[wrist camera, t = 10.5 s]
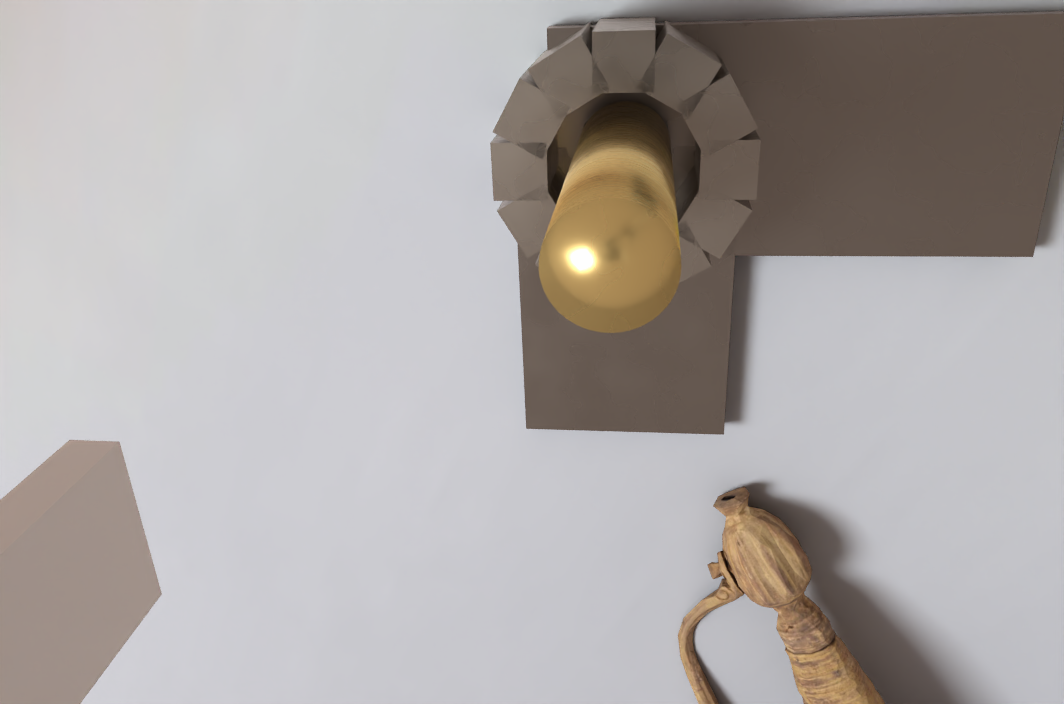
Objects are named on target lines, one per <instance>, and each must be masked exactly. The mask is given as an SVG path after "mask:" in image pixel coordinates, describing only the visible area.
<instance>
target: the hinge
mask: <svg viewBox="0 0 1064 704" xmlns="http://www.w3.org/2000/svg"><path fill="white" fill-rule="evenodd" d="M547 48H548V50H546V51H544V52H543V53H542V54H541V55H540V57H539V58H538V59H537V60H536V61H535V62H534V63H533V64H532V65H531V66H530V67H529V68H528V70H527V71H526V72H525V73H524V74H523V75H522V76H521V77H520V79H519V81H518V83H517V85H516V87H515V89H514V91H513V93H512V95H511V97H510V99H509V101H508V103H507V105H506V107H505V109H504V111H503V113H502V115H501V117H500V119H499V120H498V122H497V124H496V126H495V128H494V130H493V132H494V133H495V134H497V135H496V137H495V138H494V139H493V140H492V142H491V143H490V144H491V161H492V179H493V196H494V201H503V202H502V203H501V205H500V207H499V209H498V210H497V212H498V213H499V215H500V216H501V218H502V219H503V221H504V222H505V224H506V226H507V227H508V229H509V230H510V232H511V233H512V235H513V236H514V238H515V240H516V241H517V243H518V259H519V281H520V302H521V324H522V345H523V366H524V388H525V409H526V429H557V430H591V431H624V432H658V433H692V434H724V422H725V406H726V391H727V375H728V359H729V343H730V327H731V312H732V296H733V280H734V264H735V256H977V257H1033V254H1034V249H1035V245H1036V240H1037V235H1038V231H1039V226H1040V222H1041V217H1042V212H1043V208H1044V203H1045V198H1046V194H1047V189H1048V184H1049V180H1050V175H1051V170H1052V166H1053V161H1054V156H1055V152H1056V147H1057V142H1058V138H1059V133H1060V128H1061V124H1062V119H1063V115H1064V11H1041V12H1007V13H972V14H938V15H904V16H870V17H836V18H802V19H768V20H734V21H700V22H668V21H666V20H665V21H664V23H655V17H646V18H613V19H600V20H599V21H598V23H597V24H596V25H591V23H590V22H589V23H588V24H586V25H563V26H549V27H548V28H547ZM620 101H632V102H637V103H640V104H643V105H645V106H647V107H649V108H651V109H652V110H654V111H655V112H656V113H657V114H658V115H659V116H660V117H661V119H662V120H663V122H664V123H665V125H666V127H667V129H668V132H669V135H670V141H671V152H672V164H673V175H674V186H675V197H676V208H677V219H678V231H679V242H680V253H681V277H680V281H679V285H678V288H677V290H676V293H675V295H674V297H673V298H672V300H671V302H670V303H669V304H668V306H667V307H666V308H665V309H664V310H663V311H662V312H661V313H660V314H659V315H658V316H657V317H656V318H654V319H653V320H652V321H650V322H648V323H647V324H645V325H643V326H641V327H638V328H636V329H633V330H629V331H625V332H619V333H603V332H596V331H591V330H588V329H585V328H582V327H580V326H578V325H576V324H574V323H572V322H571V321H569V320H568V319H566V318H565V317H564V316H563V315H561V314H560V313H559V312H558V311H557V310H556V309H555V308H554V306H553V305H552V304H551V302H550V301H549V299H548V298H547V296H546V294H545V292H544V289H543V287H542V284H541V280H540V276H539V255H540V250H541V246H542V243H543V240H544V237H545V235H546V232H547V229H548V226H549V223H550V221H551V218H552V215H553V212H554V209H555V207H556V204H557V201H558V198H559V195H560V193H561V190H562V187H563V184H564V181H565V178H566V176H567V173H568V170H569V167H570V164H571V162H572V159H573V156H574V153H575V150H576V148H577V145H578V142H579V139H580V136H581V134H582V131H583V129H584V126H585V125H586V123H587V121H588V120H589V119H590V118H591V116H592V115H593V114H594V113H595V112H597V111H598V110H599V109H601V108H602V107H604V106H606V105H609V104H611V103H615V102H620Z"/></svg>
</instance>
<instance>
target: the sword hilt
mask: <svg viewBox="0 0 1064 704" xmlns="http://www.w3.org/2000/svg"><path fill="white" fill-rule="evenodd" d="M749 495H750V494H749V492H748V491H747V489H746V488H745V487H743V488H738V489H735V490H732V491H730V492H727V493H725V494H723V495H720V496H718V498H717V500H716V502H715V504H714V505H713V506H714V507H715V508H716V509H718V510H719V511H720V512H721V513H722V514H724V515H725V516H726V523H725V528H724V531H723V534H722V540H723V551H721V552H718V553H717V554H718V561H719V562H717V563H714V562H712V563H710V564H708V567H709V570H710V573H711V576H712V578H713V579H715V578H718V577H720V576H722V575H723V577H724V578H725V579H722V581H721V583H720V586H719V588H718V589H717V590H716V591H714V592H713V593H712V594H710V595H709V596H707V597H706V598H704V599H703V600H702V601H701V602H700V603H699V604H698V605H696V606H695V607H694V608H693V609H692V610H691V611H690V612H689V613H688V614H687V615H686V616H685V617H684V618H683V622H682V625H681V628H680V631H679V634H678V640H679V648H680V656H681V660H682V663H683V666H684V668H685V671H686V674H687V677H688V679H689V682H690V684H691V686H692V689H693V691H694V693H695V696H696V698H697V701H698V703H699V704H719V703H718V701H717V699H716V697H715V695H714V693H713V691H712V689H711V687H710V685H709V683H708V681H707V679H706V677H705V675H704V673H703V671H702V669H701V667H700V664H699V662H698V659H697V657H696V654H695V652H694V647H693V641H692V640H693V632H694V629H695V627H696V625H697V623H698V622H699V621H700V620H701V619H702V618H703V617H704V616H705V615H706V614H707V613H708V612H710V611H712V610H714V609H716V608H718V607H720V606H722V605H724V604H727V603H729V602H732V601H734V600H736V599H737V598H739V597H740V596H742V595H743V594H744V593H745V594H746V595H747V596H748V597H749V598H750V600H752V601H753V602H755V603H757V604H759V605H761V606H764V607H769V608H773V609H774V610H776V611H777V612H778V620H777V630H778V632H779V635H780V636H781V638H782V640H783V642H784V644H785V646H786V649H785V651H786V652H787V654H788V655H789V659H790V662H791V665H792V670H793V674H794V678H795V682H796V685H797V688H798V691H799V693H800V694H801V695H802V697H803V702H804V704H885V702H884V701H883V699H882V697H881V696H880V694H879V693H878V692H877V691H876V690H875V688H874V685H873V683H872V682H871V681H870V679H869V678H868V677H867V675H866V674H865V673H864V672H863V670H862V669H861V667H860V665H859V663H858V662H857V660H856V659H855V658H854V657H853V656H852V654H851V653H850V652H849V650H848V649H847V647H846V646H845V644H844V643H843V641H842V640H841V639H840V638H839V637H838V636H837V635H836V634H835V632H834V630H833V629H832V627H831V624H830V621H829V620H828V618H827V617H826V616H825V615H824V614H823V612H822V611H821V610H820V608H819V607H818V606H817V605H816V604H815V603H814V602H812V601H811V600H810V599H809V598H808V597H807V596H805V595H804V591H805V589H806V587H807V585H808V583H809V581H810V579H811V573H812V569H811V566H810V563H809V560H808V557H807V555H806V554H805V552H804V551H803V550H802V548H801V546H800V544H799V542H798V540H797V539H796V537H795V536H794V535H793V533H792V532H791V531H790V529H789V528H788V527H787V526H786V525H785V524H784V523H783V522H782V521H781V520H780V519H779V518H778V517H776V516H774V515H772V514H771V513H769V512H767V511H765V510H763V509H758V508H753V507H749V506H748V498H749Z"/></svg>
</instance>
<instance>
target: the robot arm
mask: <svg viewBox="0 0 1064 704" xmlns="http://www.w3.org/2000/svg"><path fill="white" fill-rule="evenodd" d="M161 594H162V593H161V590H160V586H159V583H158V579H157V575H156V572H155V568H154V565H153V561H152V557H151V554H150V550H149V547H148V543H147V539H146V536H145V532H144V529H143V525H142V521H141V518H140V514H139V511H138V507H137V504H136V500H135V496H134V493H133V489H132V486H131V482H130V478H129V475H128V471H127V468H126V464H125V460H124V457H123V453H122V450H121V446H120V442H113V441H84V440H69V441H68V442H67V443H66V444H64V445H63V446H62V447H61V448H60V449H59V450H57V451H56V452H55V453H54V454H53V455H52V456H51V457H49V458H48V459H47V460H46V461H45V462H44V463H43V464H41V465H40V466H39V467H38V468H37V469H36V470H34V471H33V472H32V473H31V474H30V475H29V476H28V477H26V478H25V479H24V480H23V481H22V482H21V483H19V484H18V485H17V486H16V487H15V488H14V489H13V490H11V491H10V492H9V493H8V494H7V495H6V496H5V497H3V498H2V499H1V500H0V704H80V703H81V702H82V700H83V699H84V698H85V696H86V695H87V694H88V692H89V691H90V690H91V688H92V687H93V686H94V684H95V683H96V682H97V680H98V679H99V678H100V676H101V675H102V674H103V672H104V671H105V670H106V668H107V667H108V665H109V664H110V663H111V661H112V660H113V659H114V657H115V656H116V655H117V653H118V652H119V651H120V649H121V648H122V647H123V645H124V644H125V643H126V641H127V640H128V639H129V637H130V636H131V635H132V633H133V632H134V631H135V629H136V628H137V627H138V625H139V624H140V623H141V621H142V620H143V618H144V617H145V616H146V614H147V613H148V612H149V610H150V609H151V608H152V606H153V605H154V604H155V602H156V601H157V600H158V598H159V597H160V596H161Z"/></svg>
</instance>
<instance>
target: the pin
mask: <svg viewBox="0 0 1064 704" xmlns="http://www.w3.org/2000/svg"><path fill="white" fill-rule="evenodd" d="M539 276H540V280H541V284H542V287H543V289H544V292H545V294H546V296H547V298H548V299H549V301H550V302H551V304H552V305H553V306H554V308H555V309H556V310H557V311H558V312H559V313H560V314H561V315H563V316H564V317H565V318H566V319H568V320H569V321H571V322H572V323H574V324H576V325H578V326H580V327H582V328H585V329H588V330H591V331H596V332H603V333H619V332H625V331H629V330H633V329H636V328H638V327H641V326H643V325H645V324H647V323H648V322H650V321H652V320H653V319H654V318H656V317H657V316H658V315H659V314H660V313H661V312H662V311H663V310H664V309H665V308H666V307H667V306H668V304H669V303H670V302H671V300H672V298H673V297H674V295H675V293H676V290H677V288H678V285H679V281H680V277H681V253H680V242H679V231H678V219H677V208H676V197H675V186H674V175H673V164H672V152H671V141H670V135H669V132H668V129H667V127H666V125H665V123H664V122H663V120H662V119H661V117H660V116H659V115H658V114H657V113H656V112H655V111H654V110H652V109H651V108H649V107H647V106H645V105H643V104H640V103H637V102H632V101H620V102H615V103H611V104H609V105H606V106H604V107H602V108H601V109H599V110H598V111H597V112H595V113H594V114H593V115H592V116H591V118H590V119H589V120H588V121H587V123H586V125H585V126H584V129H583V131H582V134H581V136H580V139H579V142H578V145H577V148H576V150H575V153H574V156H573V159H572V162H571V164H570V167H569V170H568V173H567V176H566V178H565V181H564V184H563V187H562V190H561V193H560V195H559V198H558V201H557V204H556V207H555V209H554V212H553V215H552V218H551V221H550V223H549V226H548V229H547V232H546V235H545V237H544V240H543V243H542V246H541V250H540V255H539Z"/></svg>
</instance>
